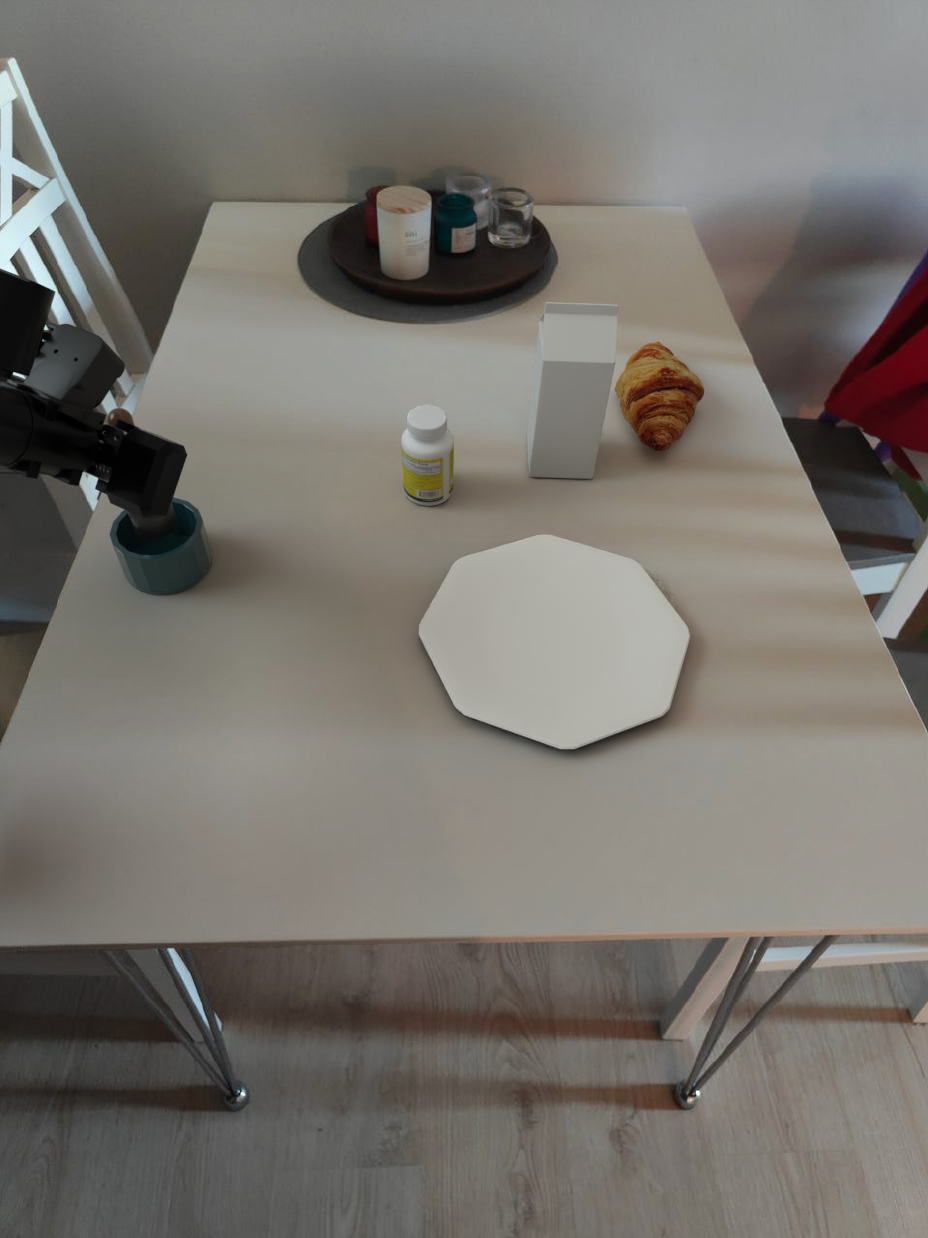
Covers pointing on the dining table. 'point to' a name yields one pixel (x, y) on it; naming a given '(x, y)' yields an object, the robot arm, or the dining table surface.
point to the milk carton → (570, 388)
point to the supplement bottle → (427, 456)
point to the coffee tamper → (140, 525)
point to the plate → (555, 641)
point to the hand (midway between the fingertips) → (147, 460)
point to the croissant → (658, 395)
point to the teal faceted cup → (164, 552)
